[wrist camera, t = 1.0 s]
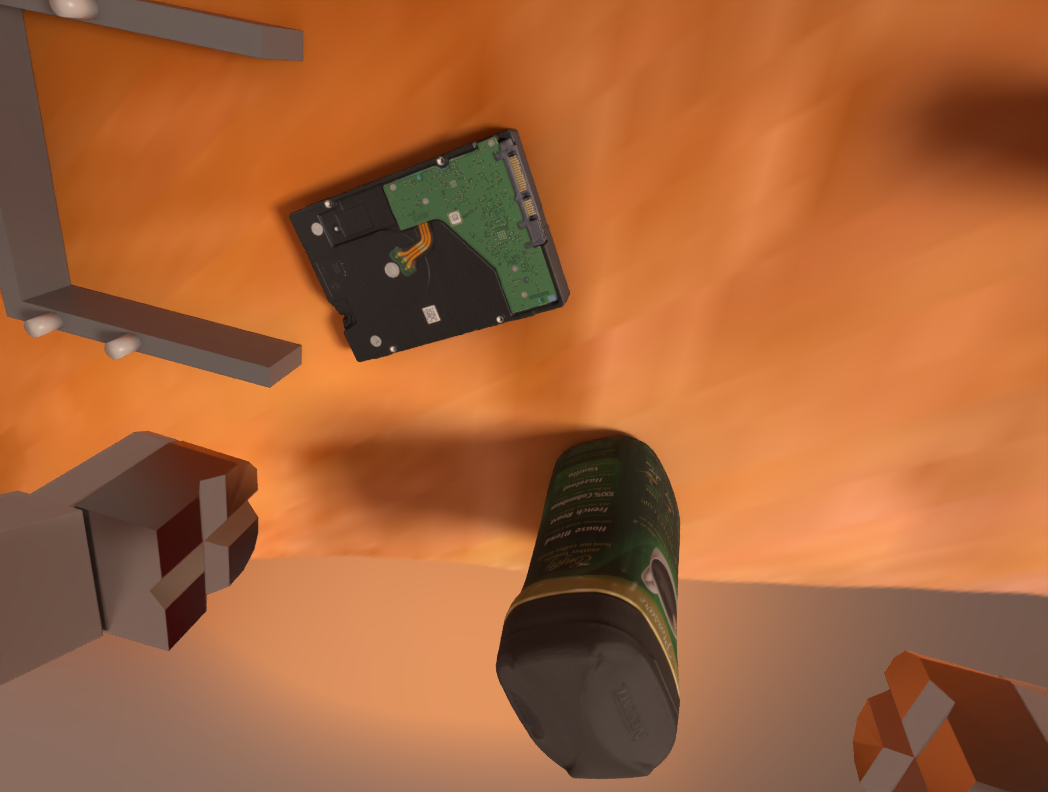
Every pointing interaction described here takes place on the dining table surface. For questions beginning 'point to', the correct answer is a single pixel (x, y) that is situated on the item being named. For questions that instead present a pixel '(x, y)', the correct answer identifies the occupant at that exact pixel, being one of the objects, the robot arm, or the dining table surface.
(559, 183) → the dining table surface
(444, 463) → the dining table surface
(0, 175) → the bracket
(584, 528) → the coffee jar
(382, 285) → the disk drive
